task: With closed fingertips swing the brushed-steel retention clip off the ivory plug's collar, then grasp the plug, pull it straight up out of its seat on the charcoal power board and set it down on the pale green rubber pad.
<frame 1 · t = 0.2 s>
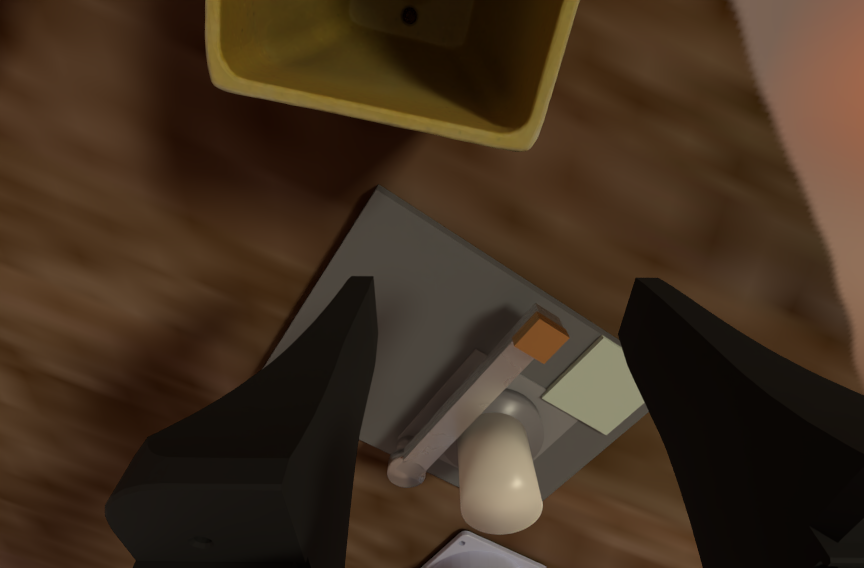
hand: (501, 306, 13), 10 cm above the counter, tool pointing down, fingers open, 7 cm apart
board: (463, 376, 27), on the counter
clip: (465, 410, 24), point 3 cm above the counter, hinge at 0.0°
pad: (598, 376, 27), resting on board
plug: (490, 426, 27), point 1 cm above the counter, touching board
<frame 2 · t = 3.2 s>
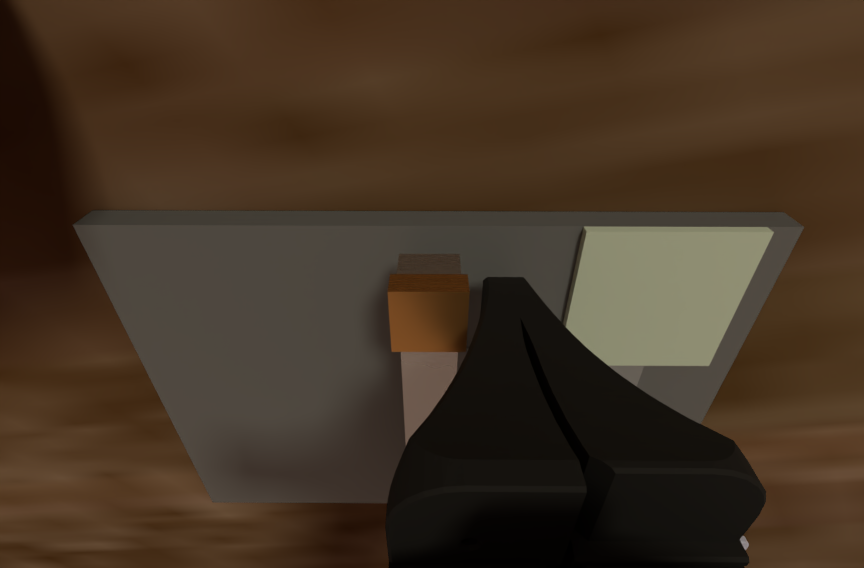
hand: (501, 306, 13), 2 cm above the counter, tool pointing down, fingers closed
board: (435, 379, 17), on the counter
clip: (429, 449, 15), point 3 cm above the counter, hinge at 0.0°, touching gripper
pad: (639, 282, 15), resting on board
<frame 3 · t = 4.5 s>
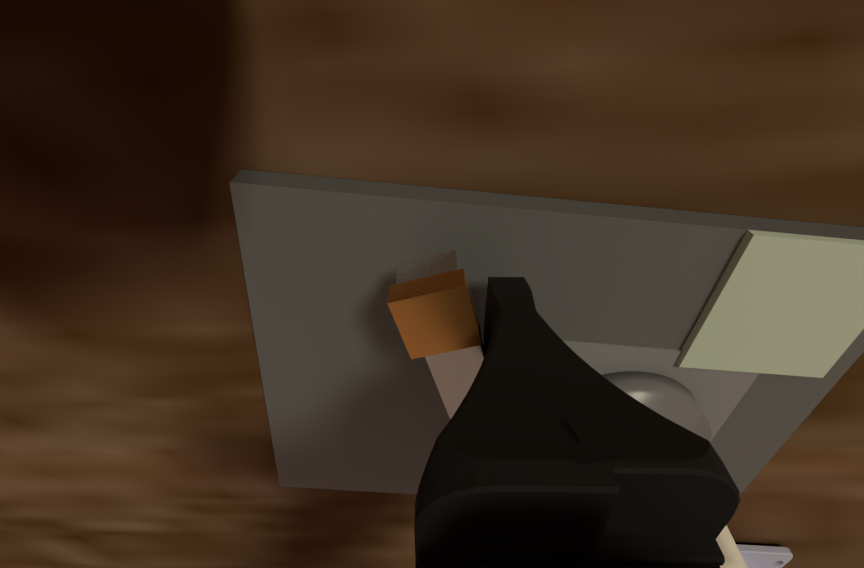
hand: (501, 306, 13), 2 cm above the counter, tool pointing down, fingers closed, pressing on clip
board: (539, 374, 17), on the counter
clip: (486, 446, 15), point 3 cm above the counter, hinge at 21.4°, touching gripper
pad: (768, 291, 15), resting on board
plug: (613, 427, 17), point 1 cm above the counter, touching board
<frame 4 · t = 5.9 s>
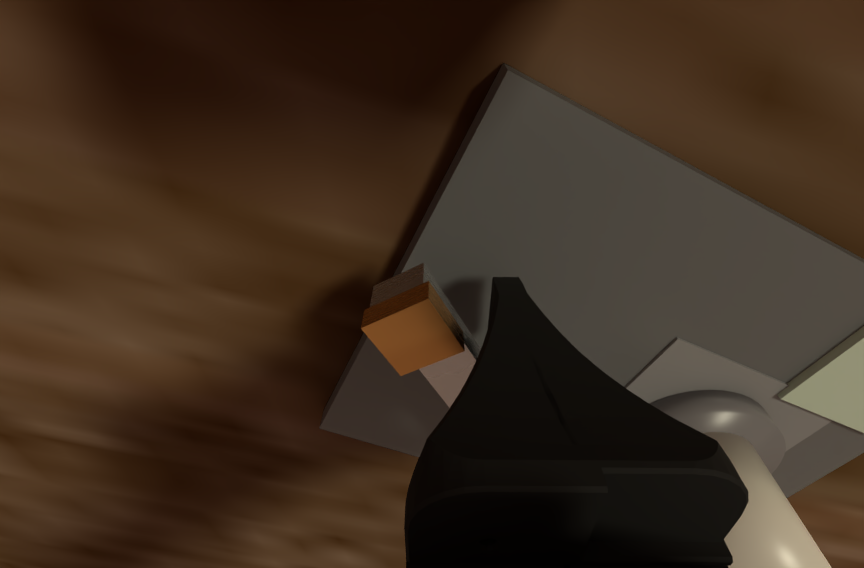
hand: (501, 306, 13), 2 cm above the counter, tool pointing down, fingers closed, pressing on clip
board: (639, 375, 17), on the counter
clip: (508, 445, 14), point 3 cm above the counter, hinge at 54.4°, touching gripper
plug: (684, 442, 18), point 1 cm above the counter, touching board
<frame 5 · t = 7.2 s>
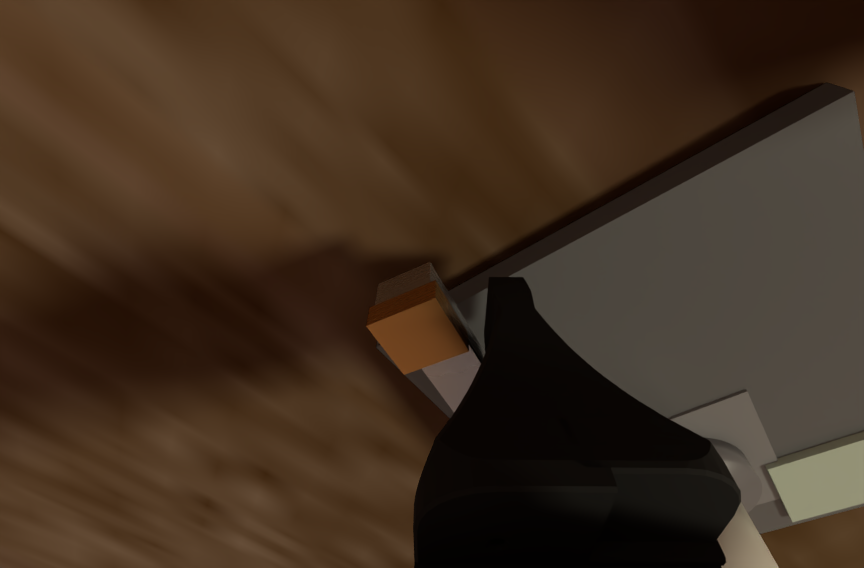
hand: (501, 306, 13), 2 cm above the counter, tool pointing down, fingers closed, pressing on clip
board: (673, 410, 18), on the counter
clip: (507, 446, 15), point 3 cm above the counter, hinge at 82.3°, touching gripper
pad: (826, 453, 20), resting on board
plug: (671, 481, 19), point 1 cm above the counter, touching board
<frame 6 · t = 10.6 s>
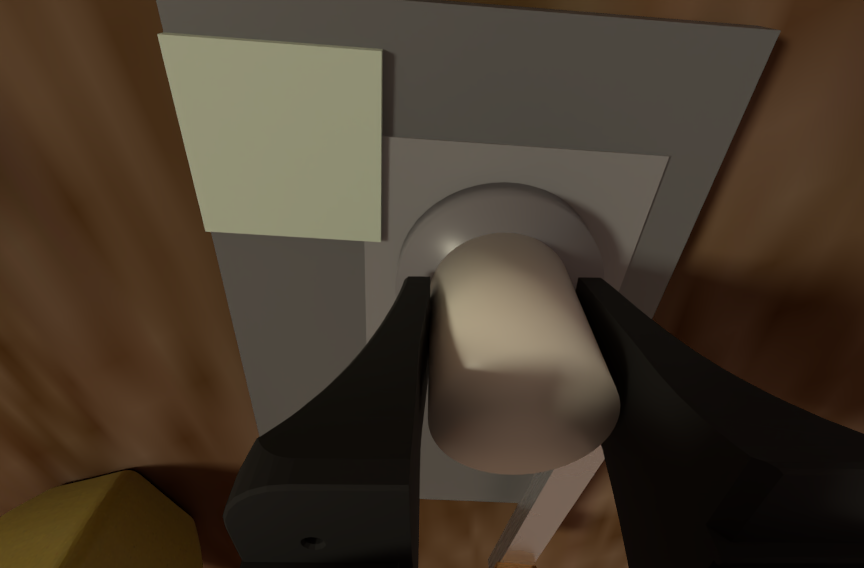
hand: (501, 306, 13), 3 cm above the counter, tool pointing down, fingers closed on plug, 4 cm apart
flower pot: (131, 496, 24), on the counter
board: (438, 324, 17), on the counter
clip: (553, 501, 18), point 3 cm above the counter, hinge at 83.4°
pad: (295, 136, 13), resting on board
plug: (494, 274, 14), point 1 cm above the counter, touching board, gripper
when the fingers open (4 cm above the counter, at t = 13.7 s): plug stays where it is, resting on pad.
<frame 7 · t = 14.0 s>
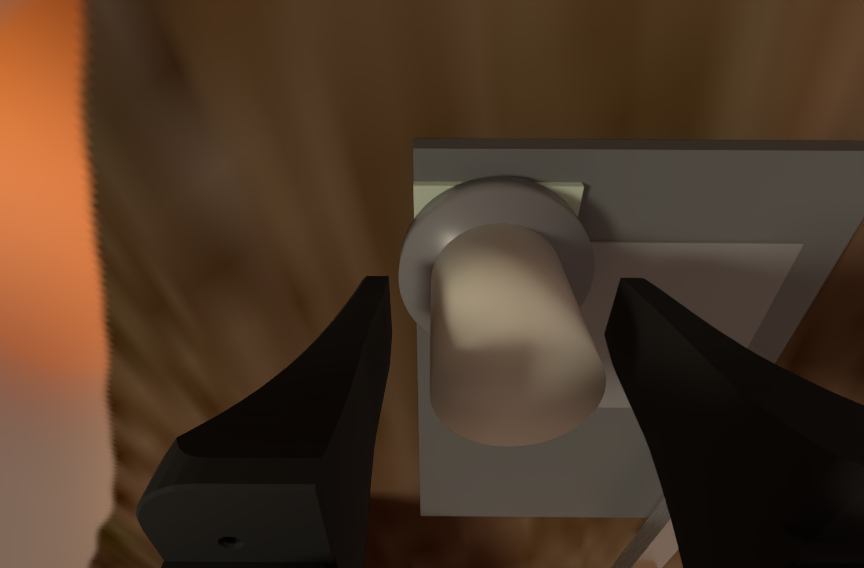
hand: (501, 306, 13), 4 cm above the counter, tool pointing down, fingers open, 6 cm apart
board: (582, 373, 20), on the counter
clip: (684, 519, 20), point 3 cm above the counter, hinge at 83.4°
pad: (488, 240, 16), resting on board
plug: (492, 263, 15), point 1 cm above the counter, touching pad
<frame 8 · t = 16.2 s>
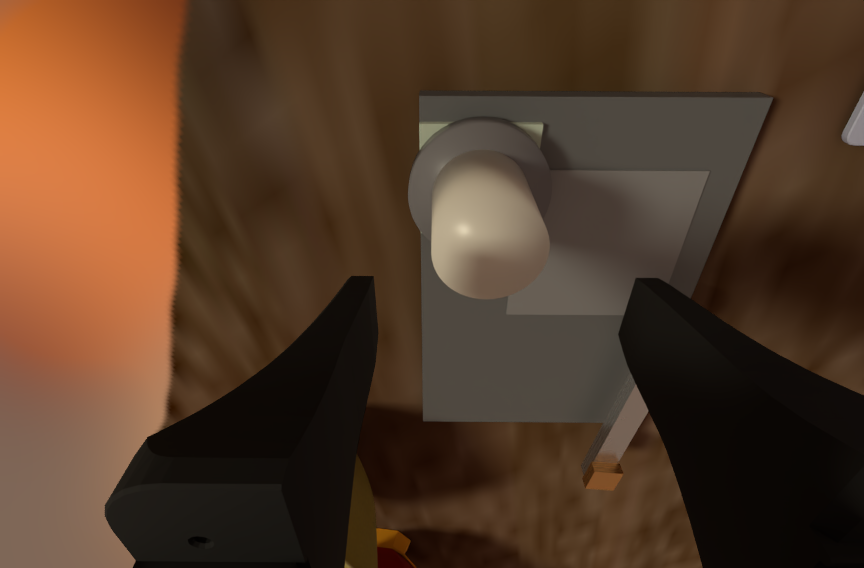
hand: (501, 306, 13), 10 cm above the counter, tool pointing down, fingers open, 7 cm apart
potion bottle: (380, 540, 41), on the counter
flower pot: (310, 434, 32), on the counter
board: (552, 288, 25), on the counter
clip: (635, 408, 25), point 3 cm above the counter, hinge at 83.4°
pad: (475, 172, 21), resting on board
plug: (477, 186, 20), point 1 cm above the counter, touching pad
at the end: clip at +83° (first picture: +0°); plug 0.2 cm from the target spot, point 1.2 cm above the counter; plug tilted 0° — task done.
